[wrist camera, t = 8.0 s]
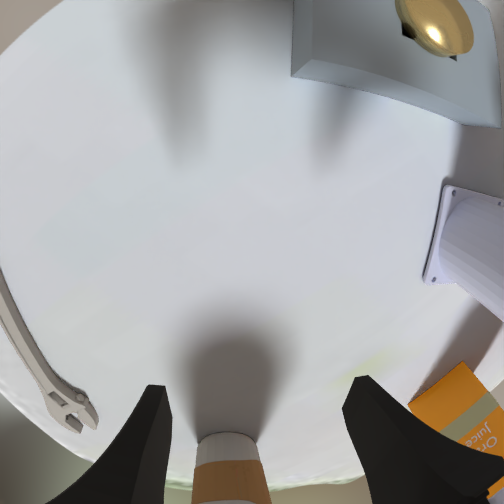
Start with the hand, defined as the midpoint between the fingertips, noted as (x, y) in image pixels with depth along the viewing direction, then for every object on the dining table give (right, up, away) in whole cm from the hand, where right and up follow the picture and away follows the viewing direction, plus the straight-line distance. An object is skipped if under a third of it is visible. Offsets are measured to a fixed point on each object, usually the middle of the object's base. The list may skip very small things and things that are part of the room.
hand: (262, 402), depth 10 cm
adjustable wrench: (-20, -2, +10) cm, 22 cm away
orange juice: (+24, -13, +18) cm, 33 cm away
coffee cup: (-3, -15, +16) cm, 22 cm away
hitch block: (+9, +20, +3) cm, 22 cm away
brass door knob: (+9, +20, +3) cm, 22 cm away
